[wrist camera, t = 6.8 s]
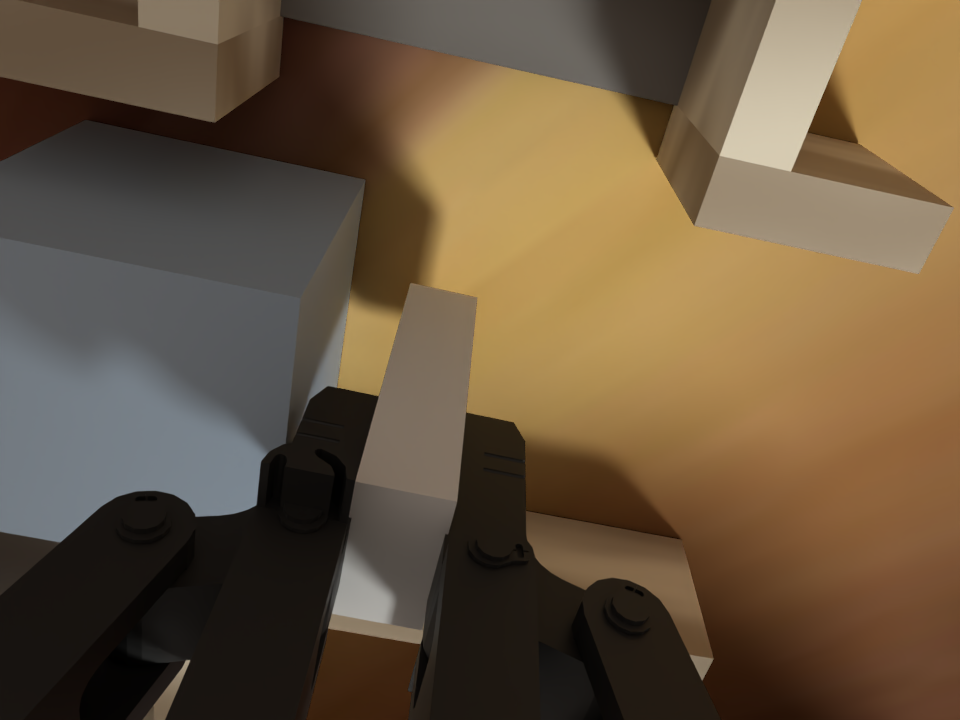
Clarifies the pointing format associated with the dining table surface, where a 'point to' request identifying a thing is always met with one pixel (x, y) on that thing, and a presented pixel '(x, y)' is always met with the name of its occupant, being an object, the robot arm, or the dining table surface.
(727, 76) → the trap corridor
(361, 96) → the dining table surface
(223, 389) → the block
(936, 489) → the dining table surface
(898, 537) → the dining table surface
